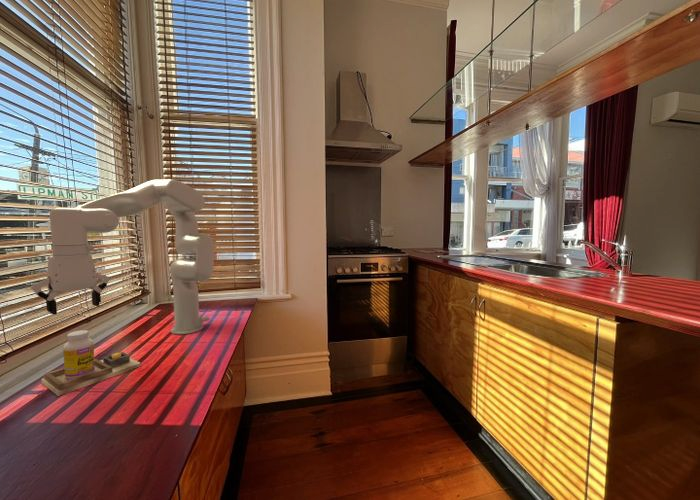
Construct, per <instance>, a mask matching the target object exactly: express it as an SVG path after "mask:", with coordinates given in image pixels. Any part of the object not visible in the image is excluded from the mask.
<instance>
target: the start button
mask: <svg viewBox="0 0 700 500" xmlns="http://www.w3.org/2000/svg"><path fill="white" fill-rule="evenodd" d="M111 355H112V360H113V359H116V358H119V357H121V353H120V352H114V353H112V354H111Z"/></svg>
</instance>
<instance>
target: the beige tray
mask: <svg viewBox="0 0 700 500" xmlns="http://www.w3.org/2000/svg"><path fill="white" fill-rule="evenodd" d="M119 353H121V357H119V358H116V359H113V360H112V354H110V355H107V356H104V357H102V359H101V360H100V359H97V358H95V357H94V364H95V370H94V372H93V373H90V374H87V375H84V376H81V377H78V378H75V379H72V380H70V379H66V378H65V369H64V367H63V368H58V369H55V370H52V371H49V372H46V373H43V378H41V384H42V385H43V386H44V387H46V388H47V389H48V390H50V391H51V392H52V393H54V394H55V395H56V396H58V397H59V396H63V395H65V394H68V393H72V392H74V391H77V390H79V389H81V388H85V387H88V386H90V385H93V384H96V383H98V382H101V381H104V380H107V379H110V378H112V377H115V376H118V375H120V374H123V373H127V372H130V371H133V370H135V369H137V367H138V368H140V366H141V365H142V364H141V362H139V361H137V360H135V359H133V358H131V356H130V354H128V353H127V352H126V353H125V352H123V351H120V352H119ZM141 367H142V366H141ZM134 368H135V369H134ZM129 370H130V371H129Z"/></svg>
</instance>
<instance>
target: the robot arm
mask: <svg viewBox="0 0 700 500" xmlns="http://www.w3.org/2000/svg"><path fill="white" fill-rule="evenodd" d="M205 200H206V199H205V197H204V196H203V194H202V193H201V192H200V191H198V190H197V189H195V188H193V187H191V186H189V185H187V184H186V183H183V182H182V181H180V180H177V179H174V178H173V179H172V178H166V179H165V178H163V179H150V180H148V181H145V182H143V183H141V184H139V185H136V186H135V187H131V188H130V189H127V190H125V191H121V192H118V193H114V194H111V195H107V196H105V197H102V198H98V199H95V200H91V201H89V202H86V203H84V204H82V205H79V206H77V207H75V208H74V207H54V208H52V209H50V211H49V225H50V235H51V245H52V246H51V247H52V248H51V249H52V256H49V257H48V261H47V268H46V278H45V279H42V280H41V281H39V282H37V283H35V284H33V285H31V286H30V289H31V291H32V292H33V293H34V294H35V295H36V296H38V297H39V298H42V299H44V300H45V301H46V302H45V303H46V311H47V313H50V314H51V315H57V313H58V309H57V300H55V298H56V297H57V296H58V294H59V293H66V292H67V293H68V292H73V291H80V290H81V291H82V290H86V289H90V290H91V291H92V292H91V304H92V306H95V307H99V306H100V303H101V302H102V298H101V296H102V295H101V293H102V292H103V290H104V289H105V288H106V287H107V285H108V283H109V281H110V279H111V278H110V276H108V275H105V274H101V273H97V271H96V270H97V269H96V266H95V262H94V258H93V256H92V254H90V252H92V251H95V248H94V246H93V245H89V242H88V233H89V234H90V233H91V234H93V233H94V234H107V233H111V232H113V231H115V230H116V229H117V228H118V226H119V224H120V218H123V217H124V218H125V217H131V216H135V215H140V214H142V213H144V212H145V211H147V210H149V209H151V208H152V207H155V206H157V205H159V204H160V203H162V204H163V206H164V208H165V209H166V210H167V211H168V212H169V213H170V214H171V215H172V218H173V219H174V222H175V238H174V249H175V252H176V253H177V254H180V255H183V256H195V257H196V258H193V257H191V258H190V257H184V258H183V257H182V258H177V259H175V260H173V261H172V262H171V264H170V265H169V275H170V279H171V282H172V290H173V293H172V295H173V313H174V315H173V317H174V326H173V327H172V328H171V329H170V333H171V334H172V335H173V334H174V335H188V334H193V333H196V332H199V331H201V330H203V329H204V324H203V323H204V322H208V321H210V317H209V316H205V317H203V316H200V309H199V308H200V305H199V303H200V302H199V288H198V284H197V283H196V282H205V281H208V280H210V279H211V278H212V276H213V273H214V266H215V265H214V261H215V260H214V259H215V243H214V240H213V237H212V236H211V235H209V234H208V233H201V232H200V233H199V226H198V219H197V217H196V215H195V214H194V212H195V213H196V212H200V211H202V209H203V208H204V207H205V204H206V203H205V202H206V201H205ZM98 279H99V280H100V279H101V282H100V283H99V284H98ZM45 286H46V287H47V289H48V292H47V293H45V292H44V291H43V290H42V288H44V287H45Z"/></svg>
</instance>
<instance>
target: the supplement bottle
mask: <svg viewBox="0 0 700 500" xmlns="http://www.w3.org/2000/svg"><path fill="white" fill-rule="evenodd" d="M89 332H90V331H89V330H84V329H83V330H82V329H80V330H75V331H72V332H69V333H67V335H66V337H67V338H66V339H67V342H66V343H65V344H64V345H63V347H62V349H63V350H62V351H63V365H64V367H63V368H64V369H65V378H66V379H70V380H72V379H75V378H78V377H81V376H84V375H87V374H90V373H93V372H94V370H95V364H94V359H95V352H94V351H95V349H94V340H93V339H92V338H89V335H90V333H89Z"/></svg>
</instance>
